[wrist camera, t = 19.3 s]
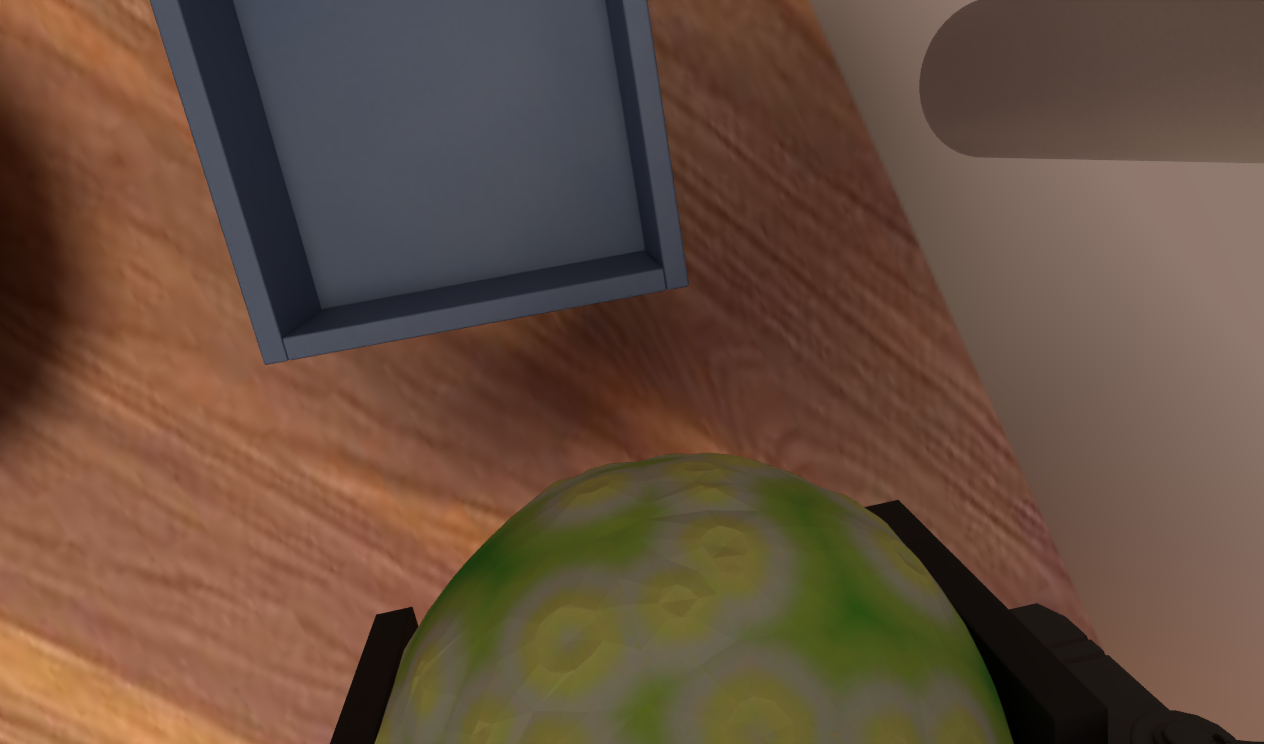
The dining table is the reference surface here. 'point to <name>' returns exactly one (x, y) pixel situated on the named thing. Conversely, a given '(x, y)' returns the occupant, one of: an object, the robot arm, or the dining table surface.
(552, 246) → the blue bin
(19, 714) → the dining table surface
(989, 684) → the decorative ball
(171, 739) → the dining table surface
